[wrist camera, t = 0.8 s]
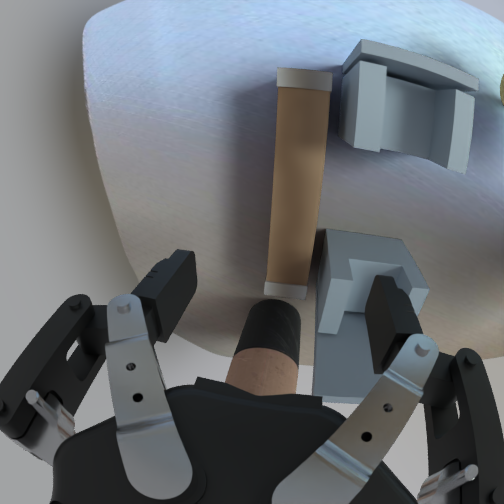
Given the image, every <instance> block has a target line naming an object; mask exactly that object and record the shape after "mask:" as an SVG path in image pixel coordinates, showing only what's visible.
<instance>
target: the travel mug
mask: <svg viewBox="0 0 504 504" xmlns="http://www.w3.org/2000/svg"><path fill="white" fill-rule="evenodd" d="M300 330H301V319H300V315H299V313H298V311H297V310H296V309H295V308H294V307H293V306H292V305H290V304H289V303H286V302H284V301H280V300H272V299H271V300H264V301H261V302H259V303H257V304H256V305H254V306H253V308H252V309H251V310H250V313H249V315H248V318H247V320H246V323H245V326H244V329H243V331H242V334H241V337H240V340H239V342H238V345H237V348H236V350H235V353H234V356H233V359H232V362H231V365H230V368H229V371H228V375H227V377H226V381H225V383H228V384H230V385H232V386H235V387H237V388H239V389H242V390H244V391H247V392H249V393H252V394H254V395H258V396H266V395H280V394H291V393H292V394H296V386H297V378H298V367H299V351H300Z"/></svg>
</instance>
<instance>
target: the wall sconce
mask: <svg viewBox="0 0 504 504" xmlns="http://www.w3.org/2000/svg"><path fill="white" fill-rule="evenodd" d="M500 96H501V101H502V103H503V105H504V74H503V77H502V80H501V84H500Z"/></svg>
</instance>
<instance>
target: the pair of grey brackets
mask: <svg viewBox="0 0 504 504" xmlns="http://www.w3.org/2000/svg"><path fill="white" fill-rule="evenodd" d="M342 74H346V75H345V76H344V77H343V78H342V90H341V106H340V119H339V131H338V137H340V138H341V139H343V140H344V141H346V142H347V143H348V144H350V145H351V146H352V147H354V148H360V149H365V150H371V151H376V152H380V148H381V149H386V150H391V151H395V152H400V153H404V154H408V155H412V156H416V157H420V158H424V159H428V160H430V161H432V162H434V163H436V164H438V165H440V166H442V167H444V168H446V169H449V170H452V171H456V172H459V173H462V174H465V175H466V169H467V164H468V158H469V152H470V145H471V137H472V129H473V118H474V103H475V97H473V96H471V95H468V94H466V93H464V92H465V91H478V90H479V79H478V78H476V77H474V76H472V75H470V74H468V73H466V72H463V71H461V70H459V69H457V68H454V67H452V66H450V65H447V64H445V63H442V62H440V61H437V60H434V59H432V58H429V57H426V56H423V55H420V54H417V53H414V52H411V51H408V50H405V49H401V48H398V47H394V46H390V45H386V44H382V43H378V42H374V41H369V40H365V39H361V40H360V42H359V43H358V44H357V46H356V47H355V48H354V50H353V51H352V53H351V54H350V55H349V57H348V58H347V59H346V61H345V62H344V64H343V69H342ZM376 275H385V276H392V277H393V278H394V280H395V282H396V285H397V287H398V288H399V289H403V291H404V292H405V293H406V294H407V295H408V296H409V298H410V300H411V303H412V306H413V308H414V310H415V313H416V315H417V316H418V314H419V312H420V310H421V308H422V306H423V303H424V301H425V299H426V297H427V294H428V292H429V290H430V289H429V287H428V285H427V283H426V281H425V279H424V278H423V276H422V274H421V272H420V270H419V269H418V267H417V265H416V263H415V261H414V260H413V258H412V256H411V255H410V253H409V251H408V250H407V248H406V246H405V245H404V243H403V241H402V240H400V239H394V238H388V237H381V236H374V235H368V234H361V233H354V232H346V231H339V230H332V229H326V232H325V238H324V244H323V250H322V256H321V261H320V266H319V272H318V279H317V282H316V313H315V347H314V367H313V368H314V369H313V384H312V396H323V398H322V402H331V403H350V404H360V403H361V402H362V401H363V400H364V398H365V397H366V396H367V395H368V393H369V392H370V391H371V389H372V388H373V387H374V386H375V384H376V383H377V382H378V380H379V379H380V378H381V376H382V375H383V374H374V370H373V363H372V356H371V349H370V343H369V337H368V331H367V325H366V320H365V306H366V302H367V299H368V296H369V293H370V290H371V287H372V284H373V281H374V278H375V276H376Z"/></svg>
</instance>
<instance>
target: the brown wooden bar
mask: <svg viewBox="0 0 504 504" xmlns="http://www.w3.org/2000/svg"><path fill="white" fill-rule="evenodd" d="M332 75H333V73H332V72H325V71H316V70H307V69H295V68H278V67H277V87H278V103H277V123H276V142H275V159H274V176H273V192H272V207H271V222H270V237H269V250H268V264H267V276H266V279H265V287H264V295H270V296H278V297H285V298H293V299H300V300H305V299H306V293H307V288H308V276H309V270H310V264H311V258H312V252H313V246H314V239H315V233H316V226H317V219H318V212H319V204H320V196H321V188H322V180H323V171H324V162H325V152H326V141H327V130H328V117H329V103H330V93H331V92H332Z"/></svg>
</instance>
